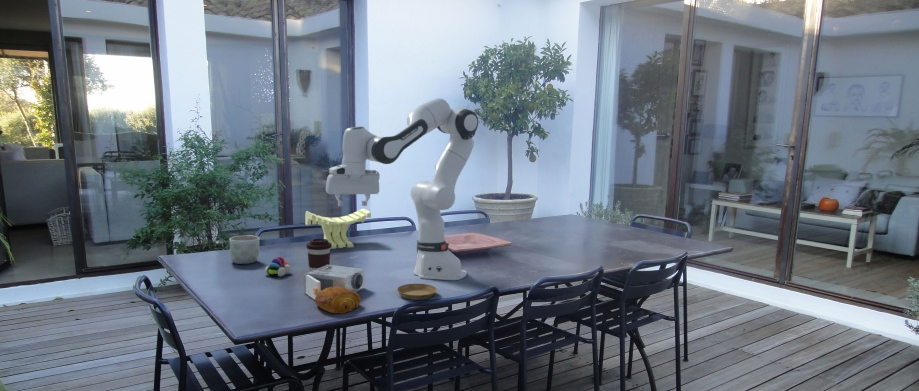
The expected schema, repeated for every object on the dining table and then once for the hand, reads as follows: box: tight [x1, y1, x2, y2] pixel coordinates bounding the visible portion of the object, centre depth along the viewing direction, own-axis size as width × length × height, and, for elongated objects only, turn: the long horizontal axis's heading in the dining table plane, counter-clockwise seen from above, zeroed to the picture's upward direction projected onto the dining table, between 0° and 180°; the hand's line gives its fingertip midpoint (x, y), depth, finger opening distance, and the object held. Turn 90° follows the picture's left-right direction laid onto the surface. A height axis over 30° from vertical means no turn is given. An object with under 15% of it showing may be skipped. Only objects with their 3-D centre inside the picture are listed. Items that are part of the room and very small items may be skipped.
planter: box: [229, 235, 260, 265], centre depth 245 cm, size 12×12×11 cm
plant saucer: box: [396, 283, 438, 301], centre depth 204 cm, size 15×15×3 cm
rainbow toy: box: [264, 256, 292, 278], centre depth 226 cm, size 8×10×7 cm
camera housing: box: [307, 264, 365, 293], centre depth 206 cm, size 17×14×8 cm
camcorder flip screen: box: [303, 272, 321, 301], centre depth 197 cm, size 13×2×7 cm, turn 36°
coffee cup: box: [306, 238, 332, 272], centre depth 225 cm, size 10×10×15 cm
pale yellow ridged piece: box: [304, 208, 372, 250], centre depth 286 cm, size 30×16×18 cm, turn 117°
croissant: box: [314, 286, 362, 314], centre depth 188 cm, size 14×16×8 cm
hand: (352, 205), depth 210 cm, fingers open, 8 cm apart
